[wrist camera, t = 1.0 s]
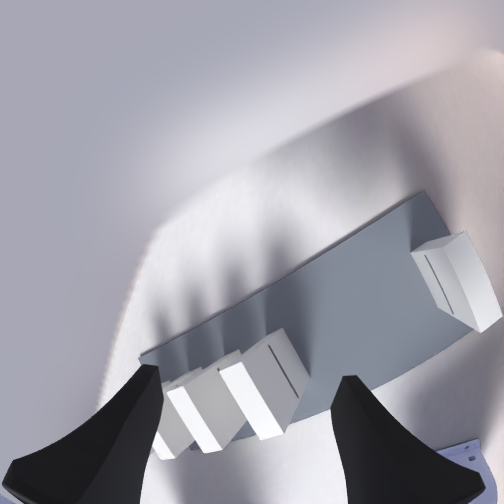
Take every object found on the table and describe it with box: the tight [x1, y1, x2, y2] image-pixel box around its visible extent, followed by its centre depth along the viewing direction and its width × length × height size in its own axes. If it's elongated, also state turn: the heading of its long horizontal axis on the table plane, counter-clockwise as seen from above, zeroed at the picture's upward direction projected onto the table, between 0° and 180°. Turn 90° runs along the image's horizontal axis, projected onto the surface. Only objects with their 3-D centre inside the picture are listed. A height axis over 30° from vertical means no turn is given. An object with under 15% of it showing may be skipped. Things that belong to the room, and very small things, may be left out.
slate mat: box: [138, 190, 473, 450], centre depth 23 cm, size 32×12×1 cm, turn 120°
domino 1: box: [152, 367, 203, 460], centre depth 22 cm, size 2×5×9 cm, turn 30°
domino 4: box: [410, 231, 503, 333], centre depth 15 cm, size 2×5×9 cm, turn 30°
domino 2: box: [166, 349, 247, 454], centre depth 20 cm, size 2×5×9 cm, turn 30°
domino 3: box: [219, 327, 310, 440], centre depth 19 cm, size 2×5×9 cm, turn 30°
